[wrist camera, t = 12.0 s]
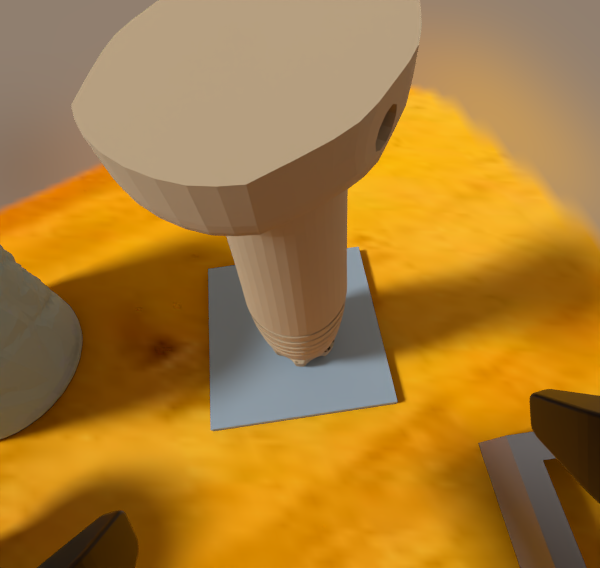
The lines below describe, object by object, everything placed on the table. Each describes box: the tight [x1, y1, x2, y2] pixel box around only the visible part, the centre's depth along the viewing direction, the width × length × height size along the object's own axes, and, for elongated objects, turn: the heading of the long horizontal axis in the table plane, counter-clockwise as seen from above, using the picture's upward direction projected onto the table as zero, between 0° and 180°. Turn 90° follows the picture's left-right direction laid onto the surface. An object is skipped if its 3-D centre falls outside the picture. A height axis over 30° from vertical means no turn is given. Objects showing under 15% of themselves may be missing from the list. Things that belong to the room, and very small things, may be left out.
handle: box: [71, 0, 422, 367], centre depth 13 cm, size 5×6×15 cm
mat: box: [208, 247, 398, 431], centre depth 20 cm, size 9×9×1 cm
